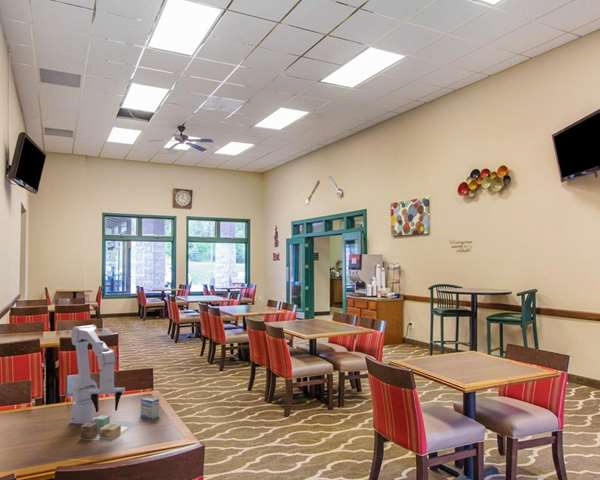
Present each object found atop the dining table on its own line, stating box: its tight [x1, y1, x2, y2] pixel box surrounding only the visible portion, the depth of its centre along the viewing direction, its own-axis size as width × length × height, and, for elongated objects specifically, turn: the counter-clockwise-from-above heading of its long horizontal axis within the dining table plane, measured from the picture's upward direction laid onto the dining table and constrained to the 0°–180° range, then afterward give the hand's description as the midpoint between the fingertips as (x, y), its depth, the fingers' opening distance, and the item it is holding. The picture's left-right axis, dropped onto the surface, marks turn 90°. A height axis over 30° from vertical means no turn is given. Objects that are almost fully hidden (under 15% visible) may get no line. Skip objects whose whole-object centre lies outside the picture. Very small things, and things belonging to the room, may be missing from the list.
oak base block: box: [100, 424, 121, 438], centre depth 197 cm, size 6×6×4 cm
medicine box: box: [140, 396, 160, 420], centre depth 220 cm, size 8×4×9 cm, turn 62°
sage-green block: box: [93, 414, 111, 431], centre depth 205 cm, size 4×4×5 cm
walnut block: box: [80, 422, 97, 440], centre depth 196 cm, size 4×4×5 cm
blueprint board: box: [79, 419, 140, 442], centre depth 203 cm, size 15×22×1 cm
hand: (106, 410), depth 201 cm, fingers open, 7 cm apart
